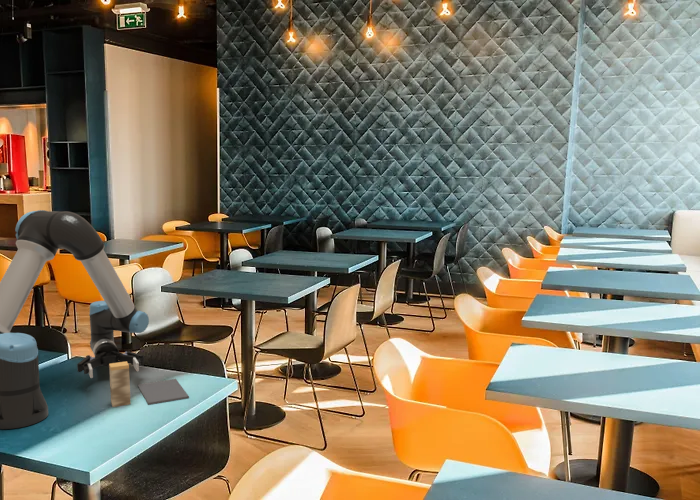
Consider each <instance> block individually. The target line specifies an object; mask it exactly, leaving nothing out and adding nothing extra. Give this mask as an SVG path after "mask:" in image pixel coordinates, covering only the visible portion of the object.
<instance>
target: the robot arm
mask: <svg viewBox="0 0 700 500" xmlns="http://www.w3.org/2000/svg"><path fill="white" fill-rule="evenodd" d="M14 230H15V231H14V232H15V237H16V241H15V245H16V248H17V251H16V252H15V254H14V256H13V258H12V260H11V262H10V263H9V266H8V267H7V269H6V270H5V273H4V275H3V276H2V278H1V280H0V430H12V429H20V428H24V427H28V426H32V425H35V424H37V423H40V422H42V421H43V420H45V419H46V418H47V417H48V416H49V406H48V404H47V400H46V399H45V397H44V394H43V392H42V389H41V387H40V369H39V368H40V366H39V364H40V363H39V348H38V346H37V345H38V344H37V341H36V339H35V337H33V336H32V335H31V334H27V333H23V332H11V330H12V328H13V326H14V324H15V322H16V320H17V319H18V316H19V315H20V313H21V311H22V309H23V307H24V306H25V303H26V301H27V299H28V297H29V295H30V293H31V291H32V289H33V288H34V286H35V284H36V282H37V280H38V278H39V276H40V274H41V272H42V270H43V268H44V267H45V264H47V263H46V262H49V261H51V260H54V258H55V256H56V254H57V253H58V250H66V251H68V252H70V253H71V255H72V256H73V258H74V259H75V260H76V261H78V262H80V263H81V264H82V266H83V267H84V269H85V270H86V272H87V275H88V276H89V277H90V279H91V280H92V283H93V284H94V286H95V287H96V289H97V290H98V293H99V294H100V296H101V297H102V299H103V300H98V301H97V300H96V301H93V302H92V303H90V305H89V324H90V325H89V326H90V327H89V328H90V341H89V344H90V346H89V347H90V350H91V351H92V353H93V355H94V356H93V357H92V355H90V354H88V355H86V356H85V357H84V358H83V359H82V360H80V361H79V362H78V363H77V364H76V365H77V366H76V368H77V372H78V373H82V371H83V374H84V375H89V377H90V379H93V378H94V373H93V372H94V371H93V370H94V369H95V368H97V367H102V366H103V367H109V364H111V363H118V362H126V361H127V363H128V364H129V365H133V368H134V369H135V371H136V372H140V367H141V365H142V364H145V355H143V354H141V353H137V352H133V351H130V349H129V350H125V351H124V352H120V350H119V349H118V346H117V345H116V343H115V336H114V332H116V331H117V332H124V333H130V334H142V333H143V332H145V331H146V330H147V328H148V326H149V323H150V319H149V315H148V314H147V312H145V311H142V310H138V309H137V308H136V306H135V304H134V302H133V300H132V298H131V297H130V294H129V293H128V291H127V289H126V288H125V286H124V284H123V282H122V280H121V279H120V277H119V275H118V273H117V272H116V270H115V268H114V266H113V264H112V263H111V260H110V259H109V256H107V253H106V252H105V250H104V249H105V246H106V245H105V244H104V240H102V238H101V235H100V234H99V233H98V232H97V230H96V229H95V228H94V227H93V226H92V224H91V223H90V222H88V221H87V220H86V219H85V218H84V217H82V216H81V215H79V214H77V213H75V212H72V211H51V210H43V209H42V210H41V209H39V210H32V211H29V212H26V213H25V214H23V215H22V216H21V217H20V218H19V220H18V221H17V223H16V225H15V229H14Z"/></svg>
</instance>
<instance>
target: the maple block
mask: <svg viewBox="0 0 700 500" xmlns="http://www.w3.org/2000/svg"><path fill="white" fill-rule="evenodd" d="M108 368H109V369H108V370H109V385H110V386H109V389H110V391H109V393H110V405H111V406H112V408H117V407H123V406H128V405H131V404H132V401H131V386H130V385H131V381H130V380H131V379H130V364H128V363H127V361H126V362H118V363H111V364H109V366H108Z"/></svg>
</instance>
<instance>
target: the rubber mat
mask: <svg viewBox="0 0 700 500" xmlns="http://www.w3.org/2000/svg"><path fill="white" fill-rule="evenodd" d="M137 387H138V389H139V390H140V393H141V394H142V396H143V398H144V400H145V402H146V403H147V405H148V406H149V405H155V404H162V403H166V402H175V401H180V400H186V399H190V396H189V394H188V393H187V392H186V390H185V389H184V388H183V386H182V385H181V384H180V383H179V381H178V380H177V379H176V378H171V379H166V380H165V379H163V380H160V381H158V380H157V381H152V382H146V383H139V384H137Z"/></svg>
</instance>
